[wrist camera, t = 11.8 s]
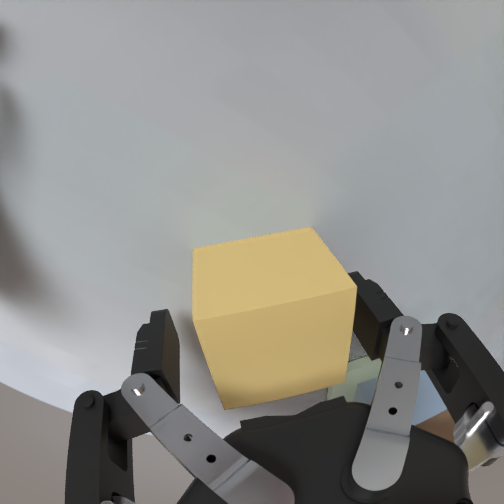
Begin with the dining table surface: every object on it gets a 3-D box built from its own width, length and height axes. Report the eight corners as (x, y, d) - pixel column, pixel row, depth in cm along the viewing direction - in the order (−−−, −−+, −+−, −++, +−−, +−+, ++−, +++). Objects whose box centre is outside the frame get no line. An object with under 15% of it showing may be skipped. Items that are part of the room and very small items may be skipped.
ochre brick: (310, 226, 14) (357, 286, 10) (312, 314, 17) (344, 382, 13) (192, 247, 14) (192, 320, 9) (215, 334, 16) (224, 409, 12)
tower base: (443, 327, 20) (482, 377, 15) (414, 396, 25) (438, 439, 20) (330, 367, 19) (360, 436, 14) (322, 429, 24) (341, 481, 19)
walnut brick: (451, 407, 16) (481, 457, 12) (428, 438, 19) (450, 482, 15) (387, 437, 16) (415, 496, 11) (371, 464, 18) (391, 512, 14)
